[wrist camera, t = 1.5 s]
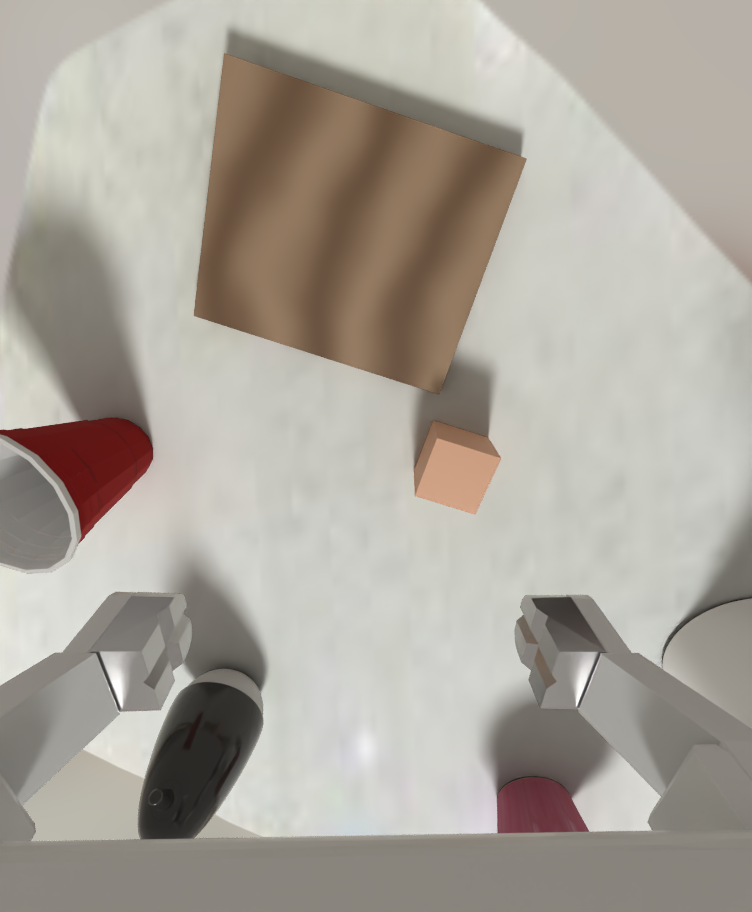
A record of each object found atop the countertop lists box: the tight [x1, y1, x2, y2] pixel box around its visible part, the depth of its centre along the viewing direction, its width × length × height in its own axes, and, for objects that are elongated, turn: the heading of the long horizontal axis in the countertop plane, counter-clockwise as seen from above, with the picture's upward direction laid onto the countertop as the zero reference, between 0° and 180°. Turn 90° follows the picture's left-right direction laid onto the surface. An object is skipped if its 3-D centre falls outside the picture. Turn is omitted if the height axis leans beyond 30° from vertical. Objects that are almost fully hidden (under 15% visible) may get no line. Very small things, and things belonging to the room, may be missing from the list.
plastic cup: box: [0, 418, 153, 574], centre depth 30 cm, size 11×11×12 cm
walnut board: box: [194, 53, 526, 394], centre depth 28 cm, size 20×16×2 cm
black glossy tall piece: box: [138, 669, 263, 839], centre depth 39 cm, size 10×10×15 cm
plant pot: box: [497, 777, 589, 833], centre depth 44 cm, size 14×14×13 cm
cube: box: [414, 420, 501, 514], centre depth 32 cm, size 5×5×5 cm
